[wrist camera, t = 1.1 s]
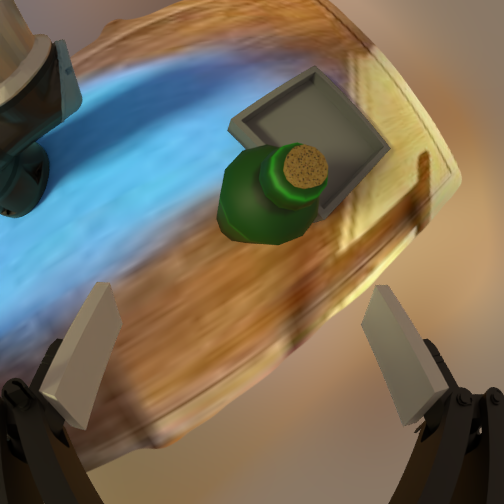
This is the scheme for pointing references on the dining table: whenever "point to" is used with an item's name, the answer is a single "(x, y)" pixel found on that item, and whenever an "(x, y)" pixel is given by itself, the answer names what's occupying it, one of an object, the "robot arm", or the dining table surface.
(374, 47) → the dining table surface
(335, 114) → the tray
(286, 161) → the bottle
